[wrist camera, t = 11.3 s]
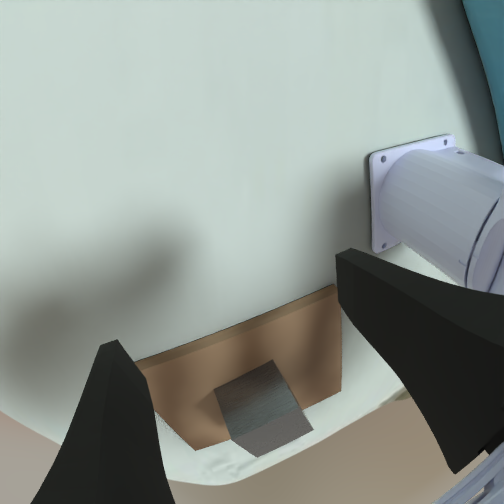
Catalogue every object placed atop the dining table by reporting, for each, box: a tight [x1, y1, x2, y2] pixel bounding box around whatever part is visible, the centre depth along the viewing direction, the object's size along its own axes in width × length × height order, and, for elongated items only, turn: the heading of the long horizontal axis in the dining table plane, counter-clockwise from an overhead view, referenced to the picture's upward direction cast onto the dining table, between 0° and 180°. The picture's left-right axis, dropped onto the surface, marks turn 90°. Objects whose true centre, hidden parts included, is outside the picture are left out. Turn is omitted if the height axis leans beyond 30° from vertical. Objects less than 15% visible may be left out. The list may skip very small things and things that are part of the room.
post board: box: [134, 284, 342, 451], centre depth 25 cm, size 17×15×4 cm
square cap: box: [214, 359, 314, 457], centre depth 24 cm, size 5×5×5 cm
